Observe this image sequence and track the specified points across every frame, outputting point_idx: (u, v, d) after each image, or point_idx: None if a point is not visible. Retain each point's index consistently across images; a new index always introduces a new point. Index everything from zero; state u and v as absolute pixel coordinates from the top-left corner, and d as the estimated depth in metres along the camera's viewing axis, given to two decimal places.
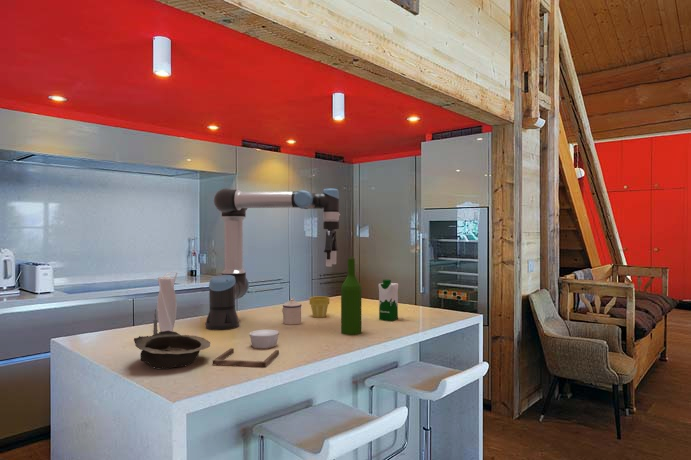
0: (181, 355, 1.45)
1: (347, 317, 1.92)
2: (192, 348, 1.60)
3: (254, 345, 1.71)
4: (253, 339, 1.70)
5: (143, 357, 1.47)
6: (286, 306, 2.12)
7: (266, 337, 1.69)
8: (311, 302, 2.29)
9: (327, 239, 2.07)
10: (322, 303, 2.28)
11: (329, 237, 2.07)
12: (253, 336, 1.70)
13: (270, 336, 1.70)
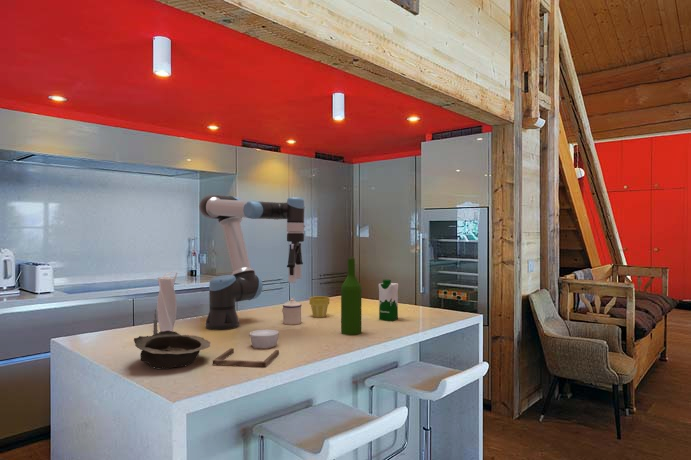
0: (181, 355, 1.45)
1: (347, 317, 1.92)
2: (192, 348, 1.60)
3: (254, 345, 1.71)
4: (253, 339, 1.70)
5: (143, 357, 1.47)
6: (286, 306, 2.12)
7: (266, 337, 1.69)
8: (311, 302, 2.29)
9: (290, 253, 1.89)
10: (322, 303, 2.28)
11: (292, 251, 1.90)
12: (253, 336, 1.70)
13: (270, 336, 1.70)
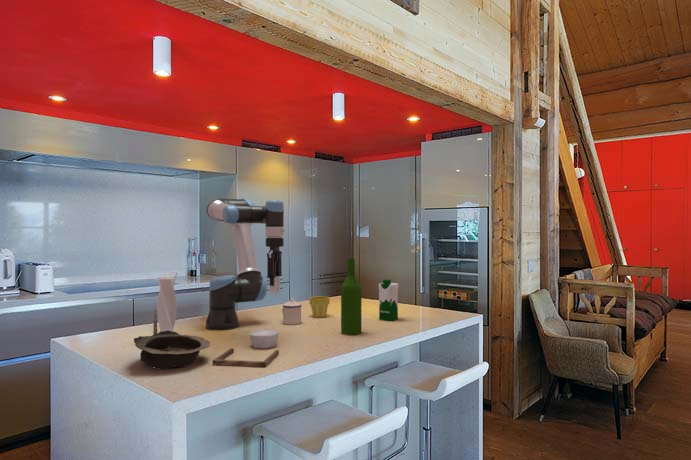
0: (181, 355, 1.45)
1: (347, 317, 1.92)
2: (192, 348, 1.60)
3: (254, 345, 1.71)
4: (253, 339, 1.70)
5: (143, 357, 1.47)
6: (286, 306, 2.12)
7: (266, 337, 1.69)
8: (311, 302, 2.29)
9: (269, 263, 1.82)
10: (322, 303, 2.28)
11: (271, 260, 1.82)
12: (253, 336, 1.70)
13: (270, 336, 1.70)
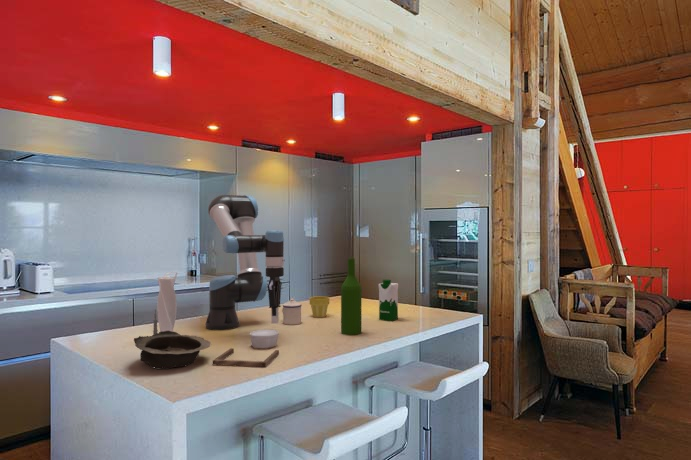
0: (181, 355, 1.45)
1: (347, 317, 1.92)
2: (192, 348, 1.60)
3: (254, 345, 1.71)
4: (253, 339, 1.70)
5: (143, 357, 1.47)
6: (286, 306, 2.12)
7: (266, 337, 1.69)
8: (311, 302, 2.29)
9: (270, 294, 1.83)
10: (322, 303, 2.28)
11: (272, 292, 1.83)
12: (253, 336, 1.70)
13: (270, 336, 1.70)
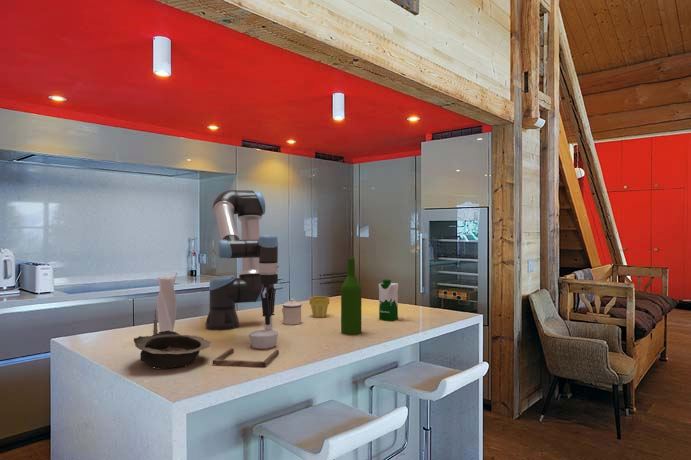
0: (181, 355, 1.45)
1: (347, 317, 1.92)
2: (192, 348, 1.60)
3: (253, 345, 1.70)
4: (252, 339, 1.69)
5: (143, 357, 1.47)
6: (286, 306, 2.12)
7: (265, 337, 1.68)
8: (311, 302, 2.29)
9: (263, 303, 1.75)
10: (322, 303, 2.28)
11: (265, 300, 1.74)
12: (252, 336, 1.69)
13: (269, 336, 1.69)
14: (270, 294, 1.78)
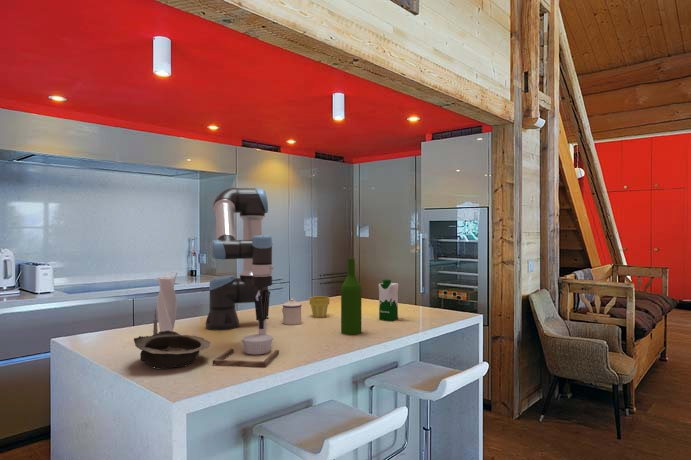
0: (181, 355, 1.45)
1: (347, 317, 1.92)
2: (192, 348, 1.60)
3: (247, 351, 1.62)
4: (246, 345, 1.62)
5: (143, 357, 1.47)
6: (286, 306, 2.12)
7: (260, 342, 1.61)
8: (311, 302, 2.29)
9: (257, 306, 1.67)
10: (322, 303, 2.28)
11: (259, 303, 1.67)
12: (246, 341, 1.61)
13: (264, 341, 1.61)
14: (264, 297, 1.70)
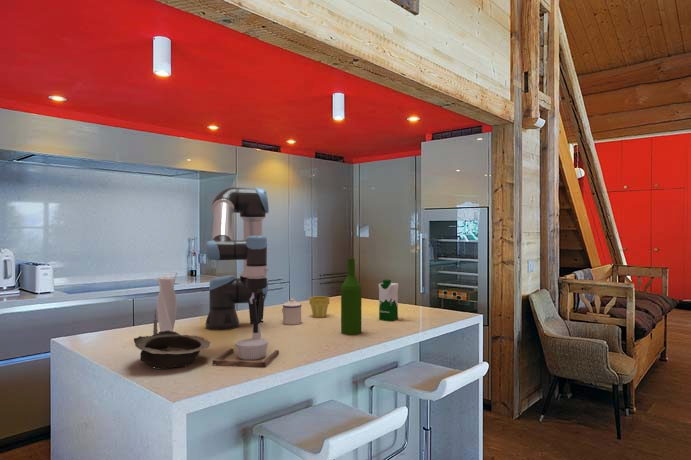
0: (181, 355, 1.45)
1: (347, 317, 1.92)
2: (192, 348, 1.60)
3: (241, 356, 1.55)
4: (240, 349, 1.55)
5: (143, 357, 1.47)
6: (286, 306, 2.12)
7: (255, 347, 1.54)
8: (311, 302, 2.29)
9: (251, 309, 1.61)
10: (322, 303, 2.28)
11: (253, 306, 1.61)
12: (240, 346, 1.55)
13: (259, 346, 1.55)
14: (258, 300, 1.64)
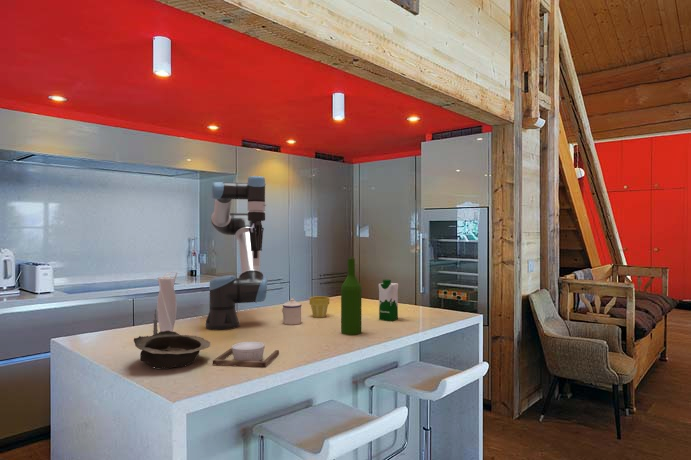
0: (181, 355, 1.45)
1: (347, 317, 1.92)
2: (192, 348, 1.60)
3: None
4: (236, 353, 1.51)
5: (143, 357, 1.47)
6: (286, 306, 2.12)
7: (251, 351, 1.50)
8: (311, 302, 2.29)
9: (251, 237, 1.91)
10: (322, 303, 2.28)
11: (253, 234, 1.90)
12: (236, 350, 1.51)
13: (255, 350, 1.51)
14: (258, 230, 1.93)
